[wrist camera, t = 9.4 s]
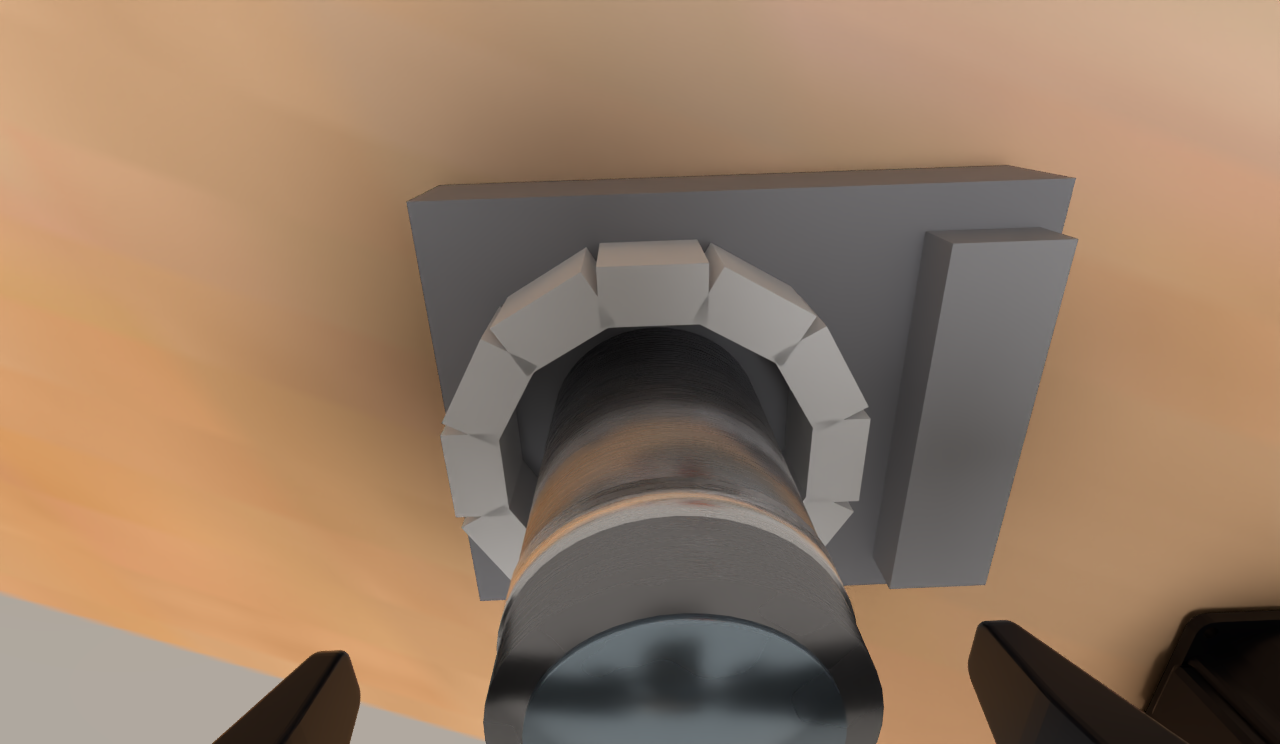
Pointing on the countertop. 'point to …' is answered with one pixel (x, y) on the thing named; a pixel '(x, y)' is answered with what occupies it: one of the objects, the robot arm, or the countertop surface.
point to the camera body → (764, 337)
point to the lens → (673, 571)
